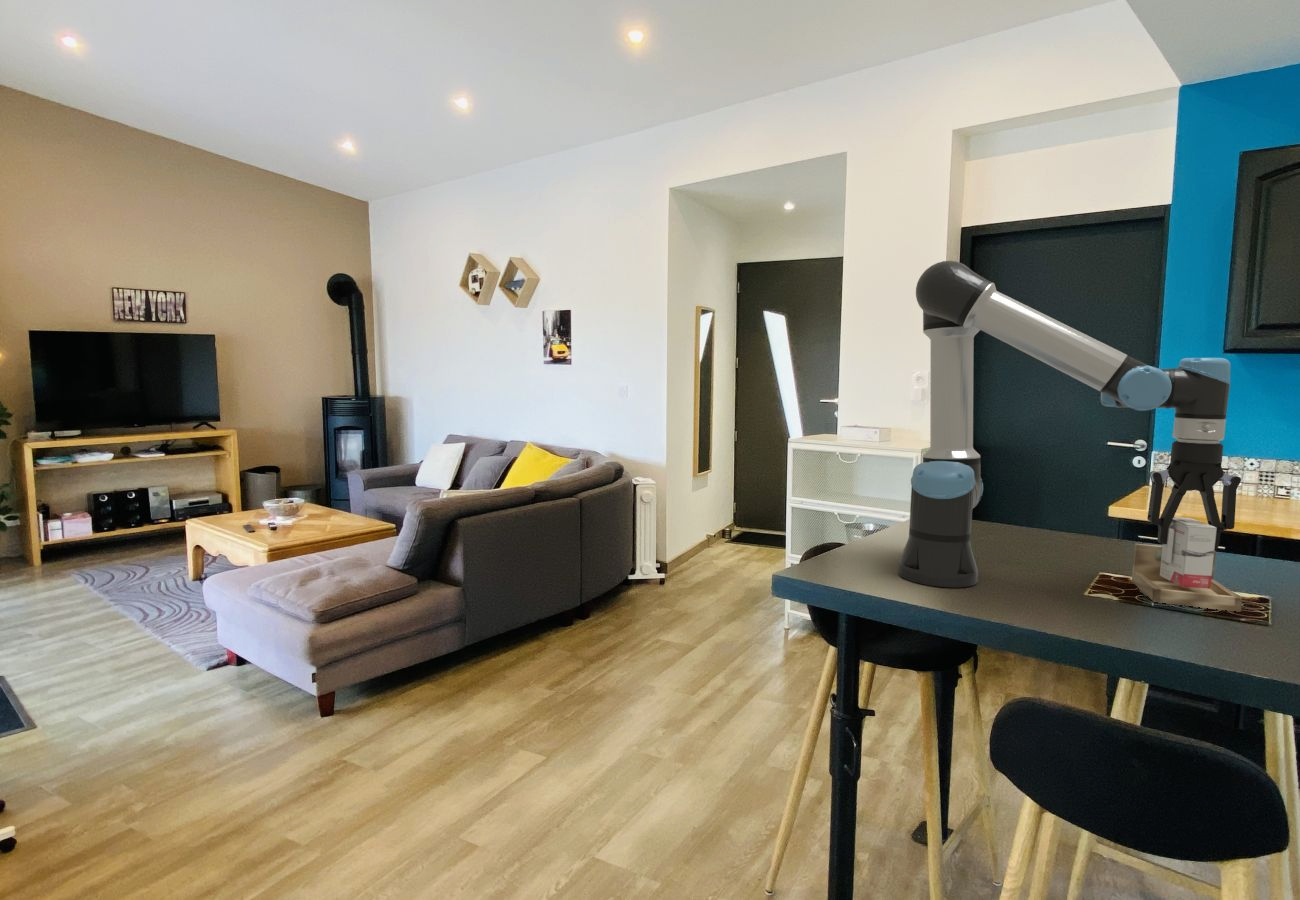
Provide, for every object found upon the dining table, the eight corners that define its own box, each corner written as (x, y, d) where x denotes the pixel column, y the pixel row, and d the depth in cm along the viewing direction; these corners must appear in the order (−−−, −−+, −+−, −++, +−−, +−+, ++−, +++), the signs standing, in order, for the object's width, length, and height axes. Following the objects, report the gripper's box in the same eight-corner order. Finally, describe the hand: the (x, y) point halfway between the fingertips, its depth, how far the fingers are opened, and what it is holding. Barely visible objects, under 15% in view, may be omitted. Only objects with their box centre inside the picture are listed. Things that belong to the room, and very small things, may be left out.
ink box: (1213, 589, 125) (1218, 526, 124) (1182, 588, 126) (1186, 525, 125) (1187, 576, 133) (1191, 516, 132) (1158, 575, 134) (1162, 516, 133)
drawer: (1153, 602, 126) (1157, 560, 125) (1131, 581, 139) (1135, 543, 138) (1240, 612, 121) (1245, 568, 120) (1209, 589, 134) (1213, 550, 133)
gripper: (1144, 440, 127) (1133, 562, 129) (1269, 445, 120) (1255, 573, 122) (1133, 437, 134) (1122, 552, 136) (1250, 441, 127) (1237, 563, 129)
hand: (1185, 562), depth 129 cm, fingers closed on ink box, 5 cm apart
